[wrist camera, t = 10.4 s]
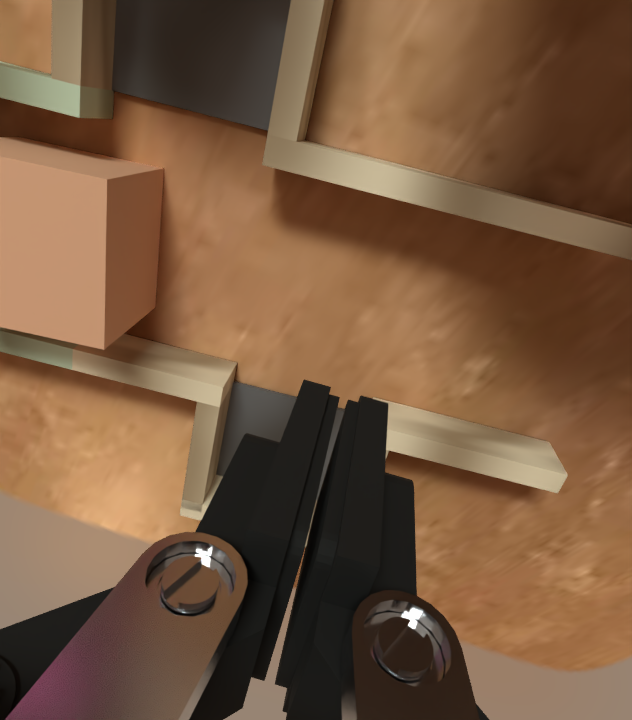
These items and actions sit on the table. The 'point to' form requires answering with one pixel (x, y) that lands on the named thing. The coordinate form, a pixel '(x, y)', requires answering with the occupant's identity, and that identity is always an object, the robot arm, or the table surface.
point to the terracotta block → (76, 241)
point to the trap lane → (282, 151)
